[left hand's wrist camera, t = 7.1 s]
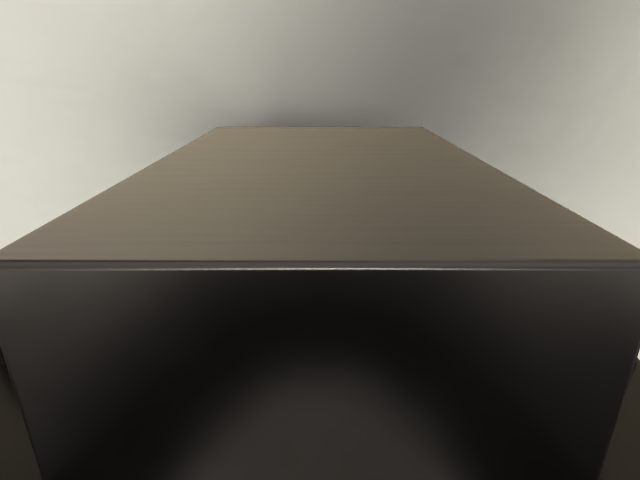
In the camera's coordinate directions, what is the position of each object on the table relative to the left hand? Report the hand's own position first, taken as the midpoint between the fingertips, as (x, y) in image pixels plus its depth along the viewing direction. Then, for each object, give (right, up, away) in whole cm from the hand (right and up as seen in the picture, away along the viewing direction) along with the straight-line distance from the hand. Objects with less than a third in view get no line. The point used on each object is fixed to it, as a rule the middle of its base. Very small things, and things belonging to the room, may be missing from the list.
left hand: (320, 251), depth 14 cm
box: (0, -6, +3) cm, 7 cm away
